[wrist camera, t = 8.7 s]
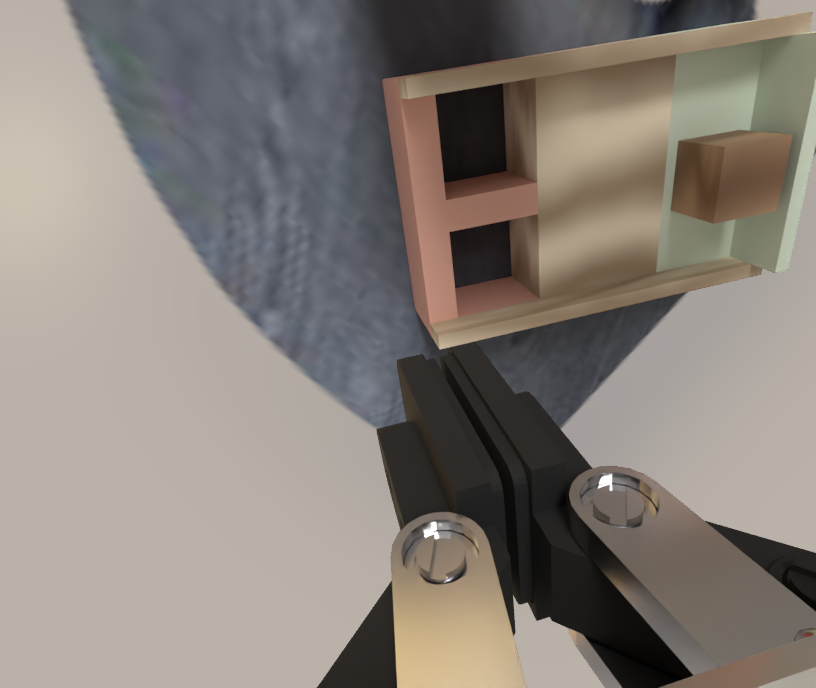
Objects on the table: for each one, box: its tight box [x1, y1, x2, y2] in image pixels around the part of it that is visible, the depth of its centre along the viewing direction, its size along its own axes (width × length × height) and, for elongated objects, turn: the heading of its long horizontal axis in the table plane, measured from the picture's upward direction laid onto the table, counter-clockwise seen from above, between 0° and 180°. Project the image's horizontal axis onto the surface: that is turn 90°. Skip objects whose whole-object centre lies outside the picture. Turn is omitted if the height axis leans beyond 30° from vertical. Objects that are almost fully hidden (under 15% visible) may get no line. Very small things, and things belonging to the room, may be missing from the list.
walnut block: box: [671, 130, 793, 224], centre depth 33 cm, size 4×4×4 cm
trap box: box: [382, 12, 816, 349], centre depth 34 cm, size 16×24×9 cm, turn 98°
